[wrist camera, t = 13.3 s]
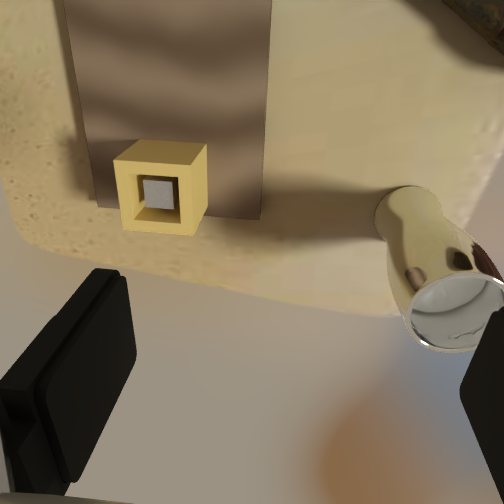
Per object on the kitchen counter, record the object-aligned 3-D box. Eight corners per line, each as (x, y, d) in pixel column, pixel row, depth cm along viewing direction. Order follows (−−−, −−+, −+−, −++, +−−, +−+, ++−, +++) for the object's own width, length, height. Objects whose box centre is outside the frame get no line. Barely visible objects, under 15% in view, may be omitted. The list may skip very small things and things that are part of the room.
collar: (140, 139, 36) (113, 159, 31) (206, 143, 36) (190, 165, 31) (146, 201, 39) (123, 229, 34) (207, 206, 39) (193, 235, 34)
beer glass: (363, 191, 38) (395, 282, 25) (442, 172, 36) (519, 259, 23) (375, 253, 41) (409, 362, 28) (448, 238, 39) (519, 347, 27)
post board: (71, -9, 32) (22, -14, 27) (271, 0, 31) (265, -4, 25) (104, 201, 41) (73, 230, 36) (260, 213, 40) (253, 245, 35)
